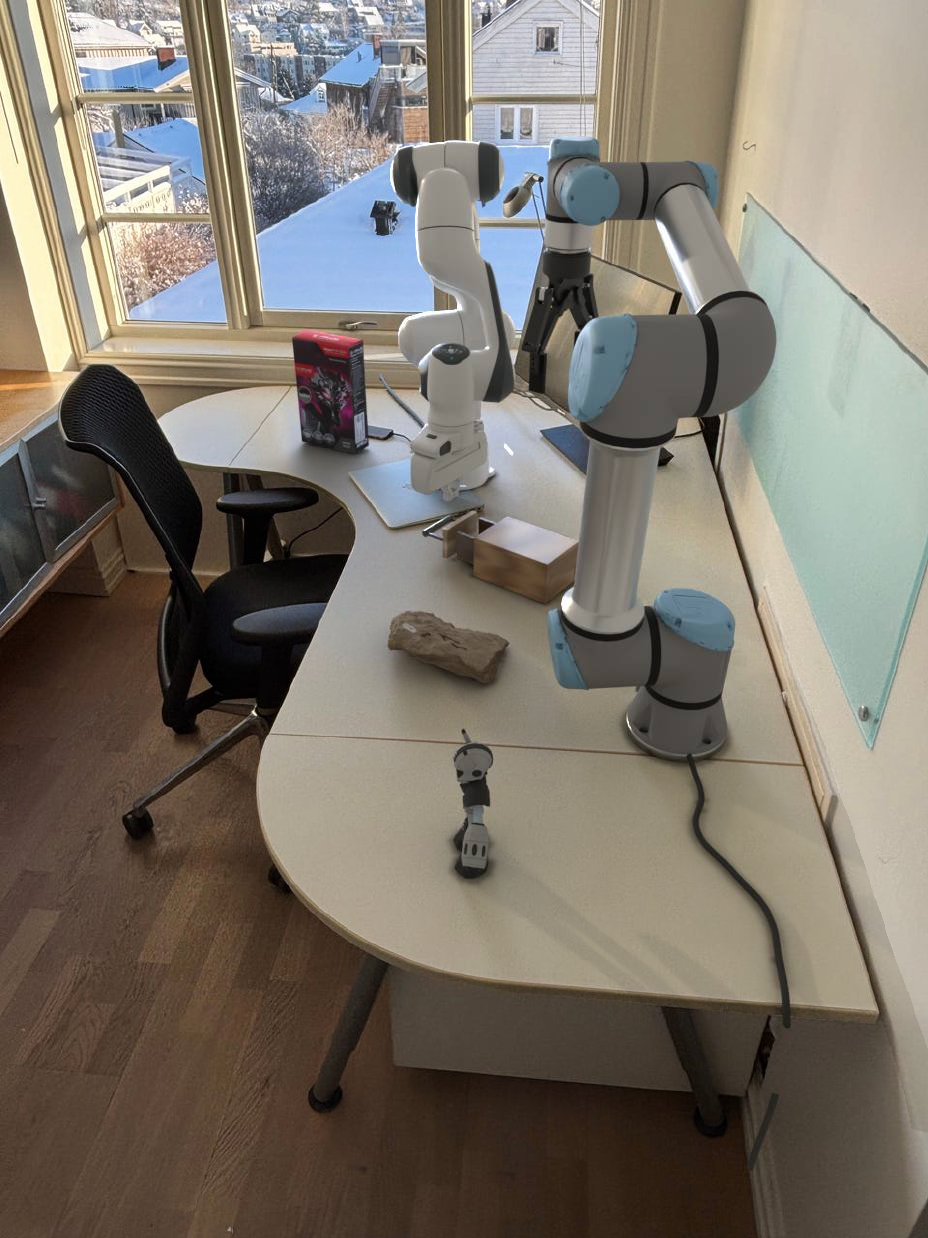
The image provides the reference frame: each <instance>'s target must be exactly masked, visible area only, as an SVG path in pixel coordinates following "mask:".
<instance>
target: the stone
mask: <svg viewBox="0 0 928 1238" xmlns="http://www.w3.org/2000/svg"><path fill="white" fill-rule="evenodd" d="M389 630H390V632H389V635H388V641H387V648H388V650H389V651H391V652H392V651H401V652H403V653H405V654H406V655H407V657H408V658H410V659H412V660H417V661H418V660H420V662H421V663H425V664H430V665H435V666H436V667H439V668H441V669H444V670H446V671H448V672H452V673H453V674H455V675H457V676H460V677H467V678H473V679H475V680H477V682H479V683H482V684H486V685H487V684H490V683H492V682H493V680H494V678H495V677H496V675H497V671H498V665H499V664H500V661H501V659H502V657H503V655H504V653H505V652H506V648H507V647H508V646H509V645H510V642H509V641H508V640H507V639H506V638H504V637H503V636H500V635H499V634H495V633H492V632H483V631H480V630H473V629H470V628H462V627H455V626H454V625H453V624H452V622H446V621H444V620H443V619H442V618H440V617H438V616H436V615H435V614H434V613H433V612H425V611H422V610H421V611H420V610H419V611H418V610H417V611H411V610H406V611H404V612H401V613H400V614H398V615H396V616H394V617H392V619H391V622H390V625H389Z"/></svg>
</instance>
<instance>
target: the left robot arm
mask: <svg viewBox="0 0 928 1238" xmlns="http://www.w3.org/2000/svg"><path fill="white" fill-rule="evenodd" d="M392 159H393V160H392V163H391V166H390V182H391V186H392V189H393V191H394V194H395V197H396V198H397V199H398V200H399V201H400V202H401V203H403V204H406V205H408V206H410V207H412V208H414V207H416V208H415V209H416V210H415V243H416V252H417V260H418V263H419V265H420V267H421V268H422V269H423V271H424V272H425V273H426V274H427V275H428V277H429V281H430V283H431V284H432V285H433V286H434V287H435V288H436V289H438V290H440V291H442V292H444V293H446V294H448V295H451V296H453V297H454V298H455V300H456V304H457V305H456V307H457V309H450V310H436V311H435V310H433V311H425V312H421V313H417V314H414V315H411V316H408V317H406V318H405V319H404V320H403V321H402V323H401V325H400V326H399V329H398V335H397V342H398V347H399V350H400V353H401V354H402V356H403V358H405V360H406V361H407V362H409V363H410V364H411V365H413V366H415V367H416V368H417V369H418V371H419V376H420V377H419V378H420V384H419V385H420V386H419V391H418V392H419V394H420V395H421V396H422V397H423V398H424V399H425V400H426V401H427V402H428V404H429V408H428V412H427V423H425V422H424V421H423V420H422V419H421V418H420V417H419V416H418V414H416V412H415V411H413V409H411V407H409V406H408V405H407V403H405V402H404V401H403V400H402V399H401V397H399V396H398V395H397V394H396V393H395V392H394V391H393V389H391V387H390V386H389V384H388V383H387V381H386V380H385V378H384V375H383V374H381V373H380V374H379V375H378V377H379V379H380V380H381V382H382V384H383V386H384V388H385V389H386V390H387V392H389V394H390V395H391V396H392V397H393V398H394V399H395V400H396V401H397V402H398V403H399V404H400V405H401V406H402V407H403V408H404V409H405V410H406V411H407V412H408V413H409V414H410V415H411V416H412V417H413V418H414V419H415V420H416V422H417V423H419V424H420V426H421V427H422V429H421V430H420V431H419V432H418V433H417V434H416V436H414V437H413V438H412V439H411V441H410V443H409V445H410V450H411V451H412V452H413V454H412V456H411V458H410V484H411V485H410V486H411V488H412V489H413V490H414V491H415V492H416V493H419V494H421V495H425V496H429V495H431V494H433V493H434V492H436V491H438V490H441V492H442V499H443V500H444V501H446V502H451V501H452V500H454V499H456V498H458V497H459V496H460V491H468V490H472V489H476V488H478V487H481V486H483V485H484V484H485V483H486V482H487V481H488V479H489V478H491V477H493V476H494V475H496V471H495V468H493V467H492V466H491V465H490V453H489V451H490V450H489V443H488V440H487V434H486V432H485V424H484V422H483V421H484V420H482V403H494V404H495V403H496V404H499V403H501V402H502V401H504V400H505V399H507V398H508V397H509V396H510V395H511V394H512V393H513V391H514V389H515V385H516V368H515V365H514V361H513V359H512V356H511V350H512V349H513V347H514V343H515V342H516V341H515V340H516V326H515V323H514V321H513V318H512V317H511V315H510V314H509V313H508V312H507V311H505V309H503V308H502V303H501V298H500V293H499V288H498V283H497V280H496V276H495V271H494V269H493V267H492V265H491V263H490V262H489V261H488V260H486V259H484V258H483V257H482V254H481V232H480V230H481V229H480V221H479V212H478V207H477V203H476V202H481V208H482V209H483V208H485V207H486V204H487V203H489V202H491V201H493V200H495V199H496V197H497V196H498V195H499V194H500V193H501V188H502V186H503V184H504V181H505V176H506V175H505V173H506V167H505V162H504V158H503V155H502V154H501V151H500V148H499V147H498V145H496V143H493V142H490V141H484V140H479V141H478V142H476V141H465V140H447V141H444V142H433V143H425V144H421V145H416V146H414V144H411V145H405V146H402V147H400V148H398V149H397V150H396V152H395V154H394V155H393V158H392ZM503 447H504V449H506V451H507V452H508V453H509V454H510V455H511V456H513V455H514V452H513V451H512V450H511V449H510V447H509V446H508V445H507V444H506V443H504V444H503ZM460 485H466V486H467V487H460Z"/></svg>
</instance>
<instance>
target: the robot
mask: <svg viewBox="0 0 928 1238" xmlns="http://www.w3.org/2000/svg"><path fill="white" fill-rule="evenodd" d="M461 734H462V737H463V739H464V742H465V744H463V745H461V746H460V747H459V748H458V749H457V750H456V751H455V753H454V756H453V757H452V760H453V768H455V772H456V774H455V775H456V781H457V782H458V783H459V786H460V789H461V791H462V793H463V794H462V809H464V812H465V814H466V817H465V818H464V821H463V823H462V826H461V827H460V829H459V830H458V831H457V833H456V834H455V835H454V837H453V838H452V841H453V843H454V846H455V847H456V849H457V850H459V851H460V853H459V855H458V858H457V859H456V863H455V865H454V870H455V871H456V872H457V873H458V874H459V875H460V876H461V877H464V878H468V879H472V878H477V877H479V876H481V875H483V874H486V873H487V872H488V867H489V863H490V862H489V848H490V834H489V831H488V826H486V824H485V823H484V818H483V817H484V816H483V815H484V813H485V812H484V810H485V809H484V806H485V807H487V808H491V792H490V788H489V785H488V784H487V775H488V771H489V769H491V768H492V766H493V764H494V755H493V751H492V750H491V749H490V747H488V746H487V745H486V744H484V743H482V742H479V741H476V740H475V741H472V740H471V738H470V736H469V735H468V733H467V730H466V729H465V728H462V729H461Z"/></svg>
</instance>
